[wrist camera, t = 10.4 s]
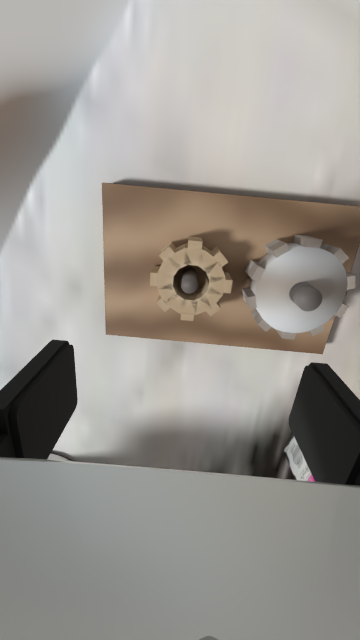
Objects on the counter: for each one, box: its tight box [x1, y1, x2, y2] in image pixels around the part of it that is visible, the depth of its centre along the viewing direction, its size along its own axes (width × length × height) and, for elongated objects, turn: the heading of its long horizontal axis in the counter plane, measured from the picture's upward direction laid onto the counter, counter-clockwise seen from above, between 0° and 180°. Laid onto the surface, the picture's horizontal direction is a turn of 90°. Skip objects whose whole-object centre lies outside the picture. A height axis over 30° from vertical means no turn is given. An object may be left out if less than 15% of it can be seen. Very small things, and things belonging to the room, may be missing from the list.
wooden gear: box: [150, 237, 233, 321], centre depth 26 cm, size 7×7×3 cm
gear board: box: [102, 183, 360, 354], centre depth 26 cm, size 15×24×7 cm, turn 85°
